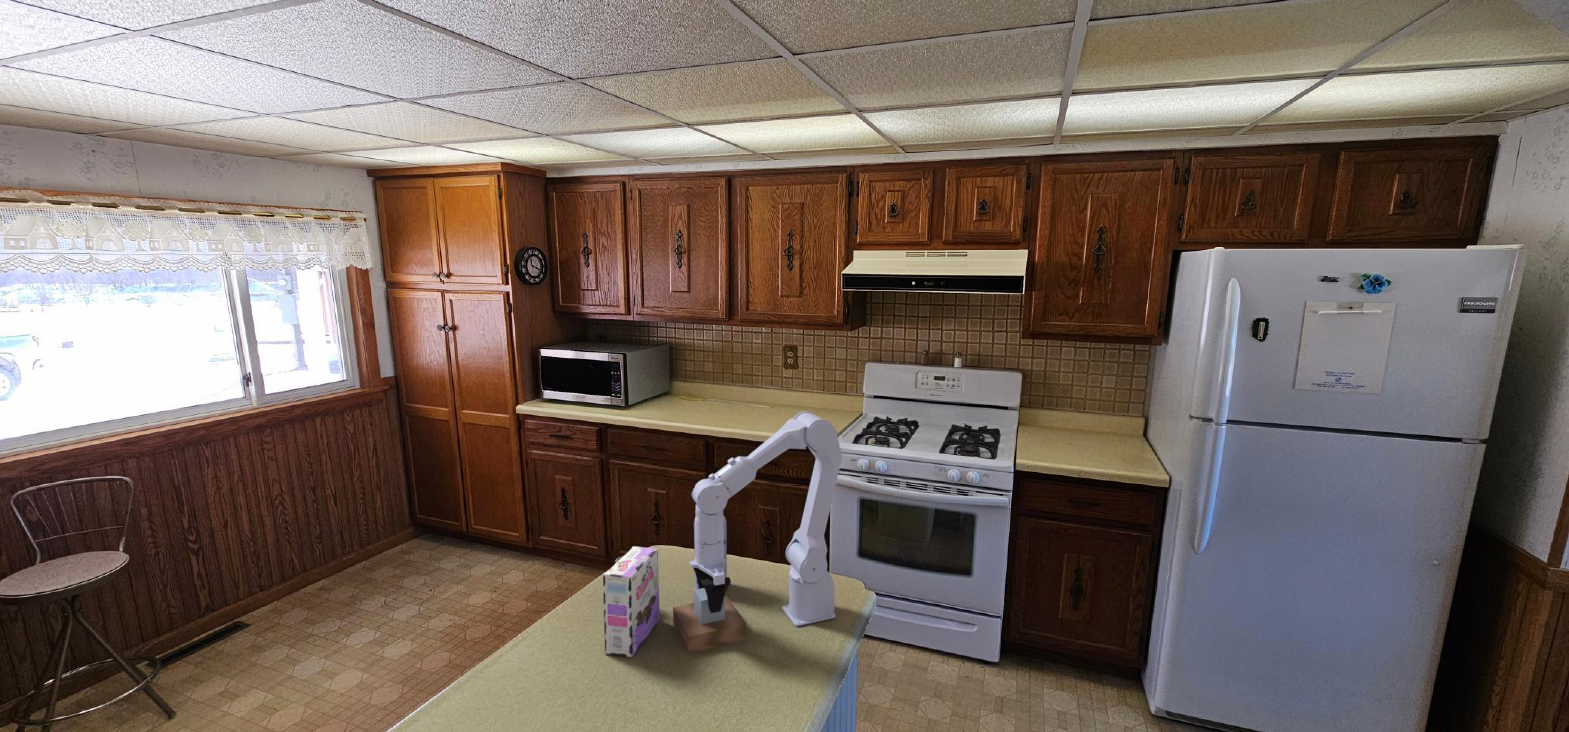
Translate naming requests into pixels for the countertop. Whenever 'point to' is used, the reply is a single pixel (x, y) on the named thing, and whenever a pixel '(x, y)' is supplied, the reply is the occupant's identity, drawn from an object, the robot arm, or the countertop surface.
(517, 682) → the countertop surface
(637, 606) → the candy box
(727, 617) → the walnut slab
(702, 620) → the slate cube
